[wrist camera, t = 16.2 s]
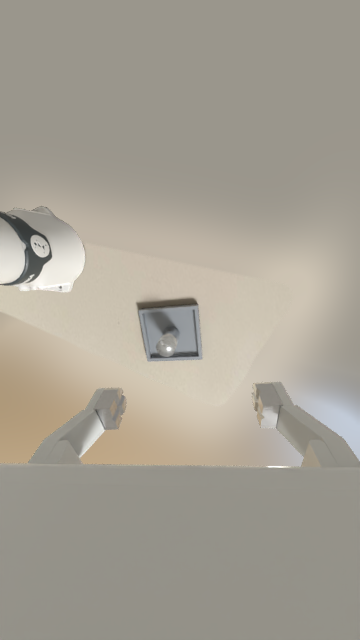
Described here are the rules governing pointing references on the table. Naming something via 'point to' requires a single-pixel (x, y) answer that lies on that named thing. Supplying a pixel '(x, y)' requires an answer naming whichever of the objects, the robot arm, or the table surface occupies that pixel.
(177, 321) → the parts tray
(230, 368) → the table surface
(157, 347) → the glossy grey cylinder
